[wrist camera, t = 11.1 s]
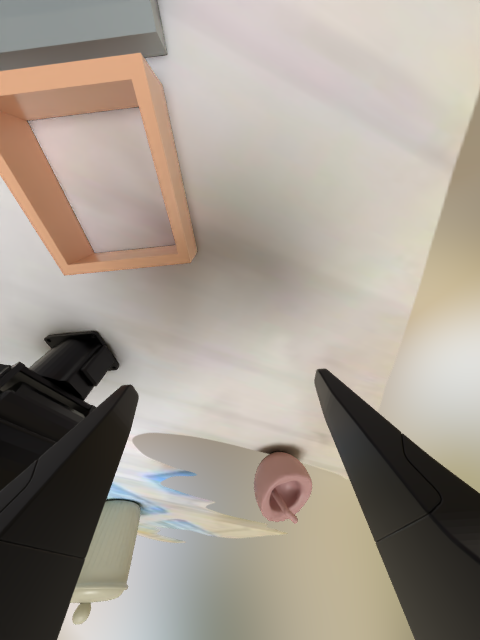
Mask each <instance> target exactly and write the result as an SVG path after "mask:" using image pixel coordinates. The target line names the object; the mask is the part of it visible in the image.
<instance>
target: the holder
mask: <svg viewBox="0 0 480 640" xmlns="http://www.w3.org/2000/svg"><path fill="white" fill-rule="evenodd" d="M133 107H139V109H140V113H141V116H142V120H143V124H144V128H145V131H146V135H147V139H148V142H149V146H150V150H151V154H152V157H153V161H154V165H155V169H156V172H157V176H158V180H159V184H160V187H161V191H162V195H163V199H164V202H165V206H166V210H167V214H168V217H169V221H170V225H171V229H172V232H173V236H174V240H175V243H176V245H171V246H162V247H152V248H142V249H132V250H123V251H113V252H103V253H94V252H93V250H92V248H91V246H90V244H89V242H88V240H87V238H86V236H85V234H84V232H83V230H82V228H81V226H80V224H79V222H78V220H77V218H76V216H75V214H74V212H73V210H72V208H71V206H70V204H69V202H68V201H67V199H66V197H65V195H64V193H63V191H62V189H61V187H60V185H59V183H58V181H57V179H56V177H55V175H54V173H53V171H52V169H51V167H50V165H49V163H48V161H47V159H46V157H45V155H44V153H43V151H42V149H41V148H40V146H39V144H38V142H37V140H36V138H35V136H34V134H33V132H32V130H31V128H30V126H29V124H28V122H27V121H28V120H36V119H44V118H52V117H60V116H68V115H76V114H84V113H92V112H100V111H108V110H116V109H125V108H133ZM0 175H1V177H2V178H3V180H4V182H5V183H6V185H7V186H8V188H9V189H10V191H11V193H12V194H13V196H14V197H15V199H16V200H17V202H18V204H19V205H20V207H21V208H22V210H23V211H24V213H25V215H26V216H27V218H28V219H29V221H30V222H31V224H32V226H33V227H34V229H35V230H36V232H37V233H38V235H39V237H40V238H41V240H42V241H43V243H44V244H45V246H46V248H47V249H48V251H49V252H50V254H51V255H52V257H53V259H54V260H55V262H56V263H57V265H58V266H59V268H60V270H61V271H62V273H63V274H64V275H74V274H84V273H94V272H104V271H114V270H124V269H134V268H144V267H154V266H164V265H174V264H184V263H191V261H192V260H193V258H194V257H195V255H196V253H197V247H196V242H195V238H194V233H193V228H192V223H191V219H190V214H189V209H188V204H187V200H186V195H185V190H184V185H183V181H182V176H181V171H180V166H179V162H178V157H177V152H176V147H175V143H174V138H173V133H172V128H171V124H170V119H169V114H168V109H167V105H166V100H165V95H164V90H163V86H162V84H161V82H160V81H159V79H158V78H157V76H156V75H155V73H154V72H153V70H152V69H151V67H150V66H149V64H148V63H147V61H146V60H145V58H144V57H143V55H142V54H141V53H134V54H126V55H119V56H111V57H103V58H96V59H88V60H81V61H73V62H65V63H58V64H50V65H43V66H35V67H28V68H20V69H12V70H5V71H0Z"/></svg>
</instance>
